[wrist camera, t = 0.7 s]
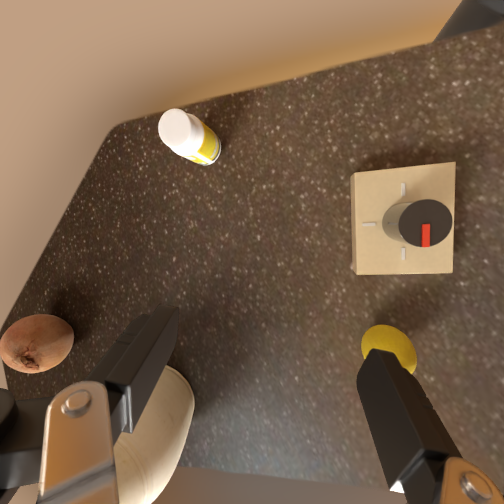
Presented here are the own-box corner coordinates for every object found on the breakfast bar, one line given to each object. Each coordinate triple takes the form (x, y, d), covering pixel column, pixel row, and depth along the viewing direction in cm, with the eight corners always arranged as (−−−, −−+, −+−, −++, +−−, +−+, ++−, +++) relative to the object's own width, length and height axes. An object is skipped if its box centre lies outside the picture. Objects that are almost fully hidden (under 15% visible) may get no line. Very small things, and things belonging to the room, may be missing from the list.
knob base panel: (350, 176, 31) (354, 172, 28) (441, 166, 29) (456, 161, 26) (352, 269, 33) (357, 275, 30) (439, 267, 31) (453, 273, 28)
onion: (94, 325, 48) (70, 359, 38) (57, 358, 48) (24, 400, 38) (50, 293, 44) (12, 321, 35) (10, 328, 44) (-39, 366, 35)
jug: (217, 430, 41) (88, 733, 17) (141, 439, 45) (-51, 696, 21) (187, 344, 40) (3, 539, 16) (112, 361, 44) (-126, 538, 20)
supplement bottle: (213, 123, 34) (184, 95, 26) (227, 156, 34) (201, 137, 26) (184, 140, 35) (148, 118, 27) (198, 171, 36) (165, 158, 28)
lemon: (373, 307, 33) (392, 335, 25) (410, 331, 32) (442, 368, 25) (347, 337, 34) (358, 373, 27) (382, 362, 34) (405, 405, 26)
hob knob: (381, 204, 28) (399, 201, 23) (425, 200, 27) (455, 196, 22) (382, 242, 29) (399, 249, 23) (424, 240, 28) (454, 246, 22)
